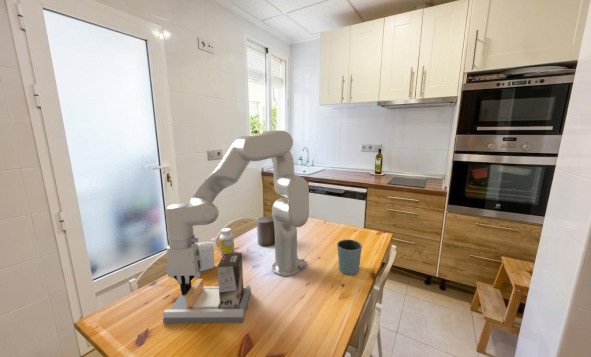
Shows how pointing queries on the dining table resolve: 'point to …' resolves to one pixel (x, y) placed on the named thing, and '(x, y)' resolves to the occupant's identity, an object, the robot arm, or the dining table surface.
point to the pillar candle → (265, 231)
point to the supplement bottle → (226, 241)
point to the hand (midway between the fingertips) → (186, 292)
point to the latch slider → (202, 297)
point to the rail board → (206, 311)
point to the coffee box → (230, 281)
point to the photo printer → (206, 255)
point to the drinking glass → (349, 256)
